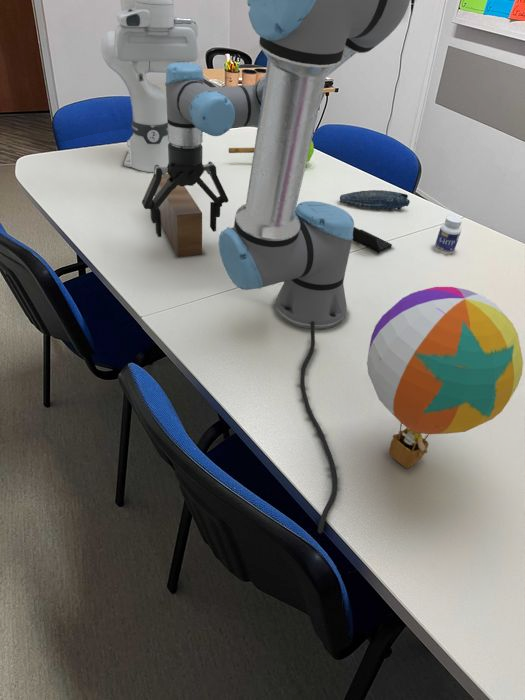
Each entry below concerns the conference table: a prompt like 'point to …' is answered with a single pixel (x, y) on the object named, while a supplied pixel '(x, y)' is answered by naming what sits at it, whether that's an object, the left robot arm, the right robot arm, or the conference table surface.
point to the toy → (442, 365)
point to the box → (181, 220)
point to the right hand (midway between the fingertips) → (186, 231)
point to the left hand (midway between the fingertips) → (158, 80)
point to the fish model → (376, 199)
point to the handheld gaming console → (370, 241)
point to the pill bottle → (448, 235)
